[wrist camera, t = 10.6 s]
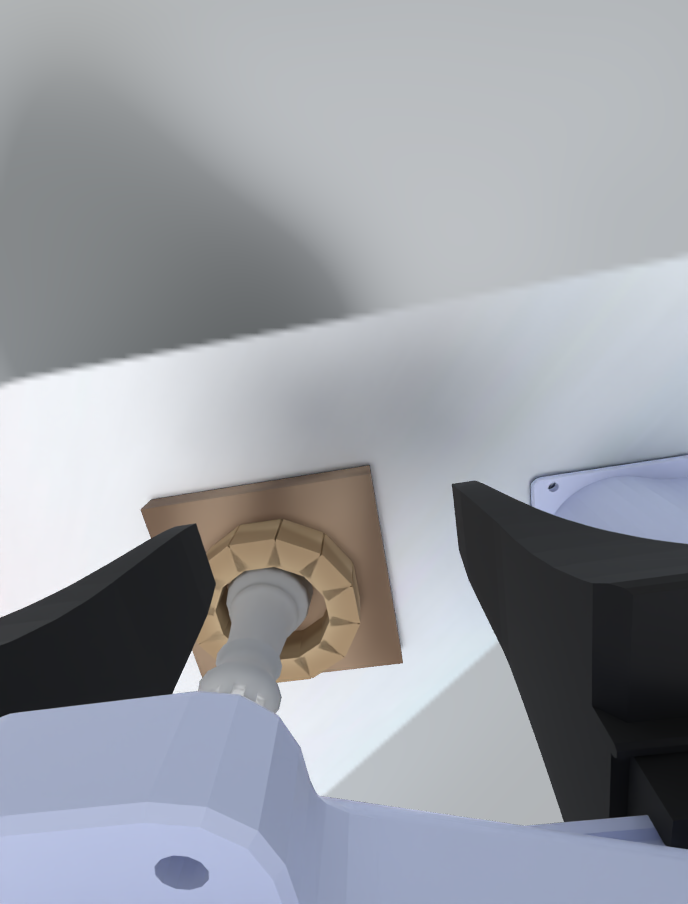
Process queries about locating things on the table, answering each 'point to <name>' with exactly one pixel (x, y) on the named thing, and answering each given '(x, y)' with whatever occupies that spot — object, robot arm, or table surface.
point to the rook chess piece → (258, 634)
